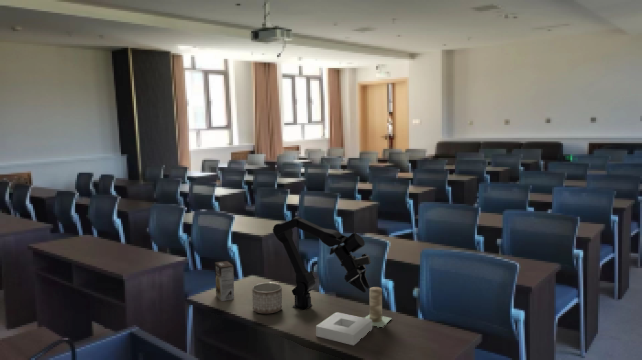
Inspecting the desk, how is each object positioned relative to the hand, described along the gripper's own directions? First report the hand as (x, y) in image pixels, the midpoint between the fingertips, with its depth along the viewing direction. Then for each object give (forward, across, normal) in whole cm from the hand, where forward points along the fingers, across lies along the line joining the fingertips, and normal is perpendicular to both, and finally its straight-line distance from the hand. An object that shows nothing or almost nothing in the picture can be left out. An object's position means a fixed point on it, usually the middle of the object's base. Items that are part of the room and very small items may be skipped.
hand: (367, 290), depth 202 cm
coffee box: (-32, +11, +62) cm, 70 cm away
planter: (-16, +1, +42) cm, 45 cm away
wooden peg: (+12, -1, +4) cm, 12 cm away
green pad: (+12, -1, +4) cm, 13 cm away
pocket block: (+8, -14, +13) cm, 21 cm away
